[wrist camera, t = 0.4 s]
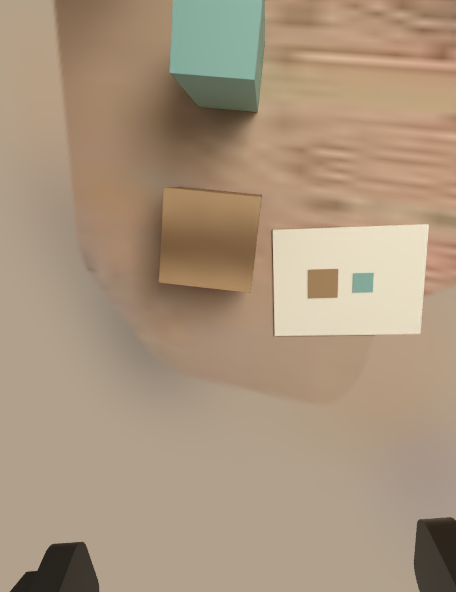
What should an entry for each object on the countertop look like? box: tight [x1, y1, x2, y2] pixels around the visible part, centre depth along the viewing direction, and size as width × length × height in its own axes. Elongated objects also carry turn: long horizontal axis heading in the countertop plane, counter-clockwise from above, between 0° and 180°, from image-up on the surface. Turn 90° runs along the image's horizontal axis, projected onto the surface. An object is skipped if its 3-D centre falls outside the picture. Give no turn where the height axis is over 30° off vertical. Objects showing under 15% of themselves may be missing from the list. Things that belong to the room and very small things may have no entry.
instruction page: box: [273, 224, 429, 336], centre depth 34 cm, size 9×12×1 cm
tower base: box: [159, 187, 262, 293], centre depth 31 cm, size 6×6×6 cm
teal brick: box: [169, 0, 265, 112], centre depth 26 cm, size 4×4×10 cm
